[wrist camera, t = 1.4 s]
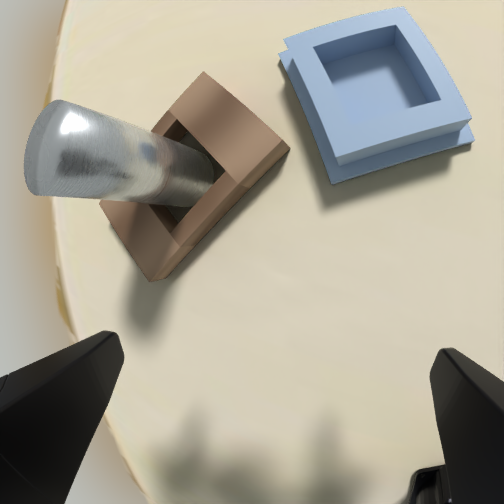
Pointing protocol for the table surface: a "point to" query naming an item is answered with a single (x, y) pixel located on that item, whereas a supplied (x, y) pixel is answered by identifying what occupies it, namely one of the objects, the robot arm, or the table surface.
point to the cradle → (374, 93)
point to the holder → (219, 194)
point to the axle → (110, 160)
